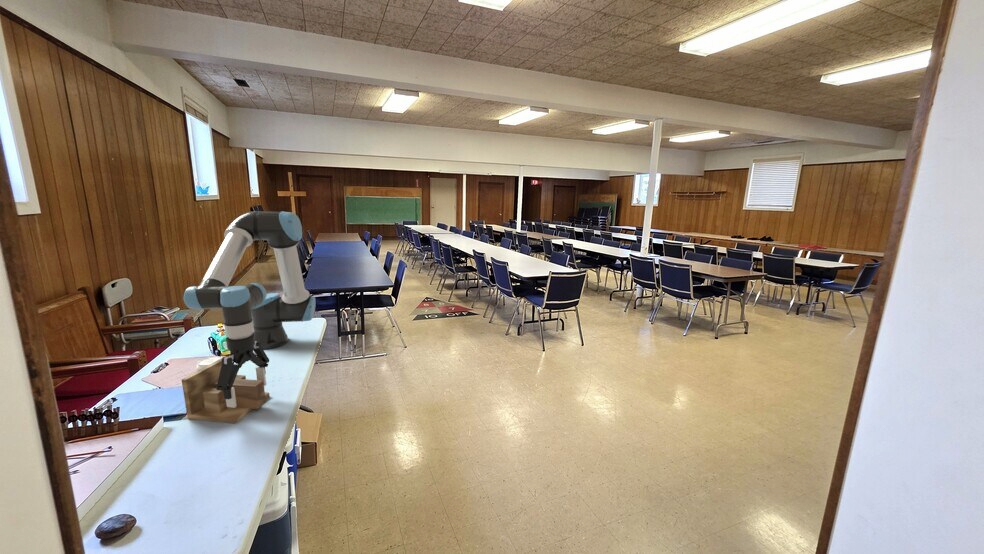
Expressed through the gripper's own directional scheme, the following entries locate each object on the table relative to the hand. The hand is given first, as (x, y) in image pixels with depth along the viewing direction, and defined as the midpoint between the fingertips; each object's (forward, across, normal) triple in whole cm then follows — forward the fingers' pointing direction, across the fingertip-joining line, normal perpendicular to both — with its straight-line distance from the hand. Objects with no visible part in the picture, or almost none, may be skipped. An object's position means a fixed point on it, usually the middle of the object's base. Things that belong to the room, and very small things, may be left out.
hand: (247, 395), depth 125 cm
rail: (+3, 0, -2) cm, 4 cm away
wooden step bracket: (+5, 0, -6) cm, 8 cm away
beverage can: (+5, -8, -19) cm, 22 cm away
